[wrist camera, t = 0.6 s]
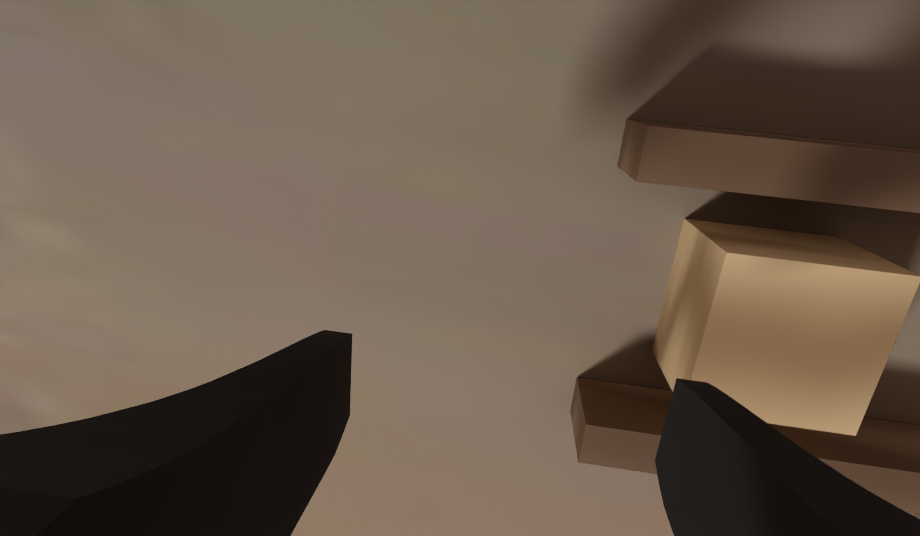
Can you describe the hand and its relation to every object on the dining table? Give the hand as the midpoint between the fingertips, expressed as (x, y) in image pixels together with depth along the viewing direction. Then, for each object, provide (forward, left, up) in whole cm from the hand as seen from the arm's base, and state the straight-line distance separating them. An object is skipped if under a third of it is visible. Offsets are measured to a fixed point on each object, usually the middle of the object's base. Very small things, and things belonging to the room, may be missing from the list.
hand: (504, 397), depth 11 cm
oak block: (0, -8, -9) cm, 12 cm away
